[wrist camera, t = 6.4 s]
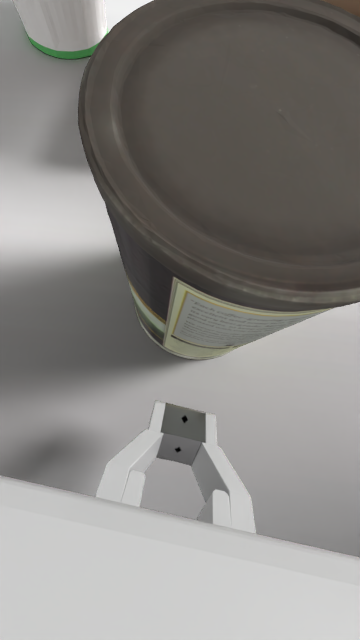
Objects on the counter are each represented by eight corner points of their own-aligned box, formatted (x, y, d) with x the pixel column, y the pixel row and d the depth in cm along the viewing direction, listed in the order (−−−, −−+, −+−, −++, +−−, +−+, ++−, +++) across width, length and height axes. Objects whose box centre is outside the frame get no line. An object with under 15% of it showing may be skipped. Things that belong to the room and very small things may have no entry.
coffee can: (106, 312, 19) (-28, 124, 5) (180, 221, 21) (220, -62, 8) (218, 388, 18) (407, 407, 4) (279, 284, 21) (514, 96, 7)
